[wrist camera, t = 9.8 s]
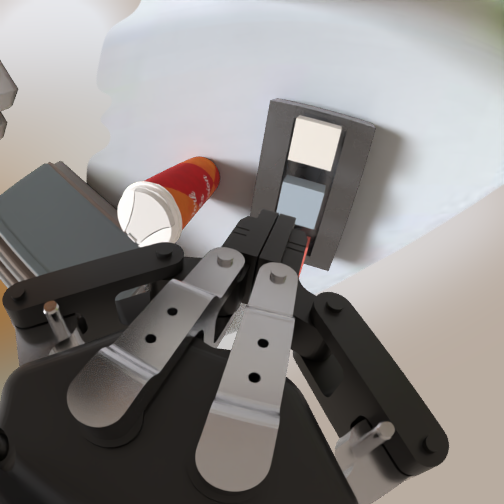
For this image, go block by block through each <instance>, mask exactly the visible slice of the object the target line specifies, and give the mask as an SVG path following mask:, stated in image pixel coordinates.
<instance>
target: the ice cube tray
mask: <svg viewBox="0 0 504 504" xmlns="http://www.w3.org/2000/svg"><path fill="white" fill-rule="evenodd" d="M17 91H18V88H17V86H16V84H15V83H14V81H13V80H12V78H11V77H10V75H9V73H8V72H7V70H6V69H5V67H4V65H3V64H2V62H1V60H0V139H1V138H3V137H4V133H5V129H6V126H7V121H6V119H5V118H4V116H3V114H2V113H1V111H2V110H5V109H8V108H10V107H11V106H12V105H13V103H14V100H15V97H16V94H17Z"/></svg>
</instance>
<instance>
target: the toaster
mask: <svg viewBox="0 0 504 504" xmlns="http://www.w3.org/2000/svg"><path fill="white" fill-rule="evenodd" d="M127 235H128V234H127V233H126V231H125V232H124V231H123V230H122V228H121V226H120V223H119V220H118V212H117V210H116V209H115V208H114V207H113V206H112V205H111V204H109V203H108V202H107V201H106V200H105V199H104V198H102V197H101V196H100V195H99V194H98V193H97V192H96V191H94V190H93V189H92V188H91V187H90V186H89V185H88V184H86V183H85V182H84V181H83V180H82V179H81V178H80V177H79V176H77V175H76V174H75V173H74V172H73V171H72V170H71V169H70V168H69V167H67V166H66V165H65V164H64V163H63V162H61V161H59V162H57V163H55V164H53V163H50V162H49V163H48V164H43V165H42V166H40V167H39V168H37V169H36V170H34V171H33V172H31V173H30V174H28V175H27V176H25V177H24V178H23V179H21V180H20V181H19V182H17V183H16V184H14V185H13V186H12V187H11V188H9V189H8V190H7V191H5V192H4V193H3V194H1V195H0V279H1V280H2V282H4V284H5V285H6V286H7V287H8V288H9V287H10V286H12V285H13V284H15V283H17V282H20V281H23V280H27V279H30V278H33V277H37V276H40V275H43V274H47V273H50V272H54V271H57V270H60V269H64V268H67V267H71V266H74V265H78V264H81V263H85V262H89V261H92V260H96V259H99V258H103V257H107V256H110V255H114V254H118V253H121V252H125V251H129V250H133V249H137V248H140V247H139V246H138V245H139V244H137V243H136V242H134V241H132V240H131V239H130V238H129V237H128V236H127ZM147 285H148V284H146V285H143V286H139V287H136V288H133V289H129V290H126V291H123V292H121V293H119V294H118V295H117V296H116V298H115V301H117V300H121V299H124V298H128V297H131V296H134V295H137V294H141V293H144V292H146V291H145V288H146V286H147Z"/></svg>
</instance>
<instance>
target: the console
mask: <svg viewBox="0 0 504 504" xmlns="http://www.w3.org/2000/svg"><path fill="white" fill-rule="evenodd" d="M300 115H301V116H305V117H309V118H313V119H317V120H321V121H325V122H328V123H332V124H335V125H339V126H342V130H341V134H340V138H339V142H338V145H337V149H336V153H335V157H334V161H333V164H332V168H331V171H327V170H324V169H320V168H317V167H313V166H310V165H306V164H302V163H299V162H295V161H291V160H288V156H289V151H290V146H291V142H292V137H293V132H294V127H295V122H296V118H297V117H298V116H300ZM375 129H376V128H375V126H374V125H373V124H372V123H370V122H367V121H363V120H360V119H357V118H354V117H350V116H347V115H344V114H340V113H337V112H333V111H329V110H326V109H322V108H318V107H314V106H310V105H306V104H301V103H297V102H293V101H288V100H283V99H278V98H277V99H273V100H270V105H269V111H268V116H267V122H266V127H265V133H264V139H263V144H262V150H261V156H260V161H259V167H258V173H257V179H256V184H255V190H254V196H253V202H252V208H251V213H250V216H251V217H254V218H257V217H258V216H259V214H260V212H261V211H262V209H266V210H270V211H274V212H276V211H277V207H278V202H279V198H280V193H281V189H282V184H283V181H284V179H285V177H286V176H287V175H291V176H294V177H298V178H302V179H305V180H309V181H312V182H316V183H319V184H323V185H326V188H325V193H324V197H323V200H322V204H321V207H320V211H319V214H318V217H317V221H316V224H315V227H314V230H313V229H310V228H307V227H303V226H300V225H296V224H295V225H294V229H297V230H300V231H303V232H305V234H306V236H308V237H311V238H310V243H309V247H308V250H307V253H306V257H305V260H304V263H303V264H307V265H310V266H313V267H317V268H320V269H324V270H327V271H329V268H330V265H331V263H332V260H333V258H334V255H335V252H336V249H337V247H338V244H339V241H340V239H341V236H342V233H343V230H344V227H345V224H346V222H347V219H348V216H349V213H350V210H351V207H352V204H353V201H354V198H355V195H356V192H357V189H358V186H359V183H360V179H361V176H362V173H363V170H364V166H365V163H366V160H367V157H368V153H369V150H370V146H371V143H372V139H373V136H374V132H375Z"/></svg>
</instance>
